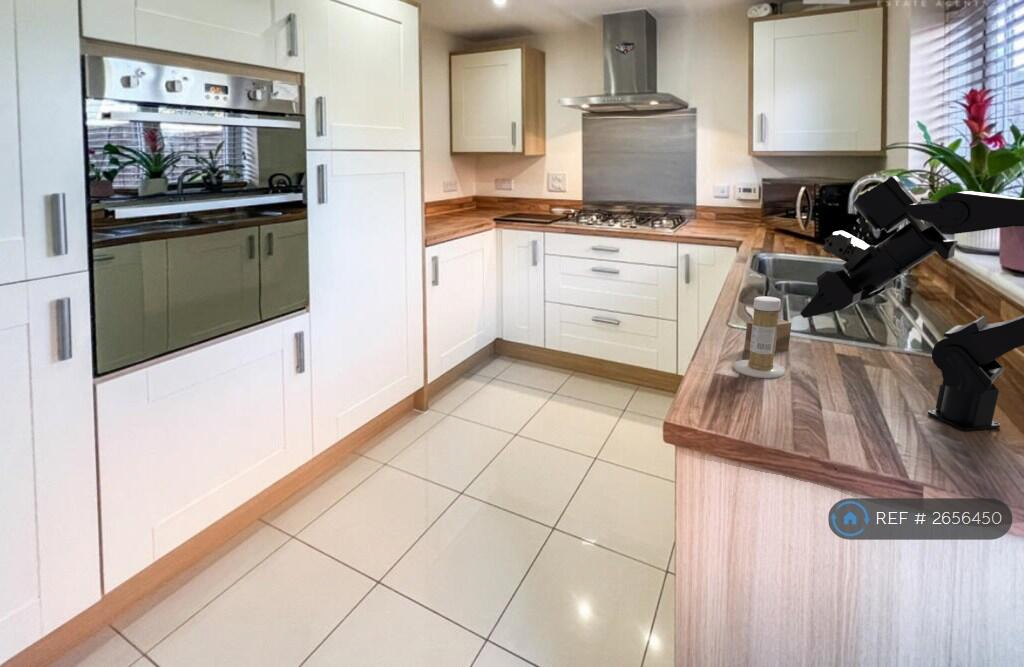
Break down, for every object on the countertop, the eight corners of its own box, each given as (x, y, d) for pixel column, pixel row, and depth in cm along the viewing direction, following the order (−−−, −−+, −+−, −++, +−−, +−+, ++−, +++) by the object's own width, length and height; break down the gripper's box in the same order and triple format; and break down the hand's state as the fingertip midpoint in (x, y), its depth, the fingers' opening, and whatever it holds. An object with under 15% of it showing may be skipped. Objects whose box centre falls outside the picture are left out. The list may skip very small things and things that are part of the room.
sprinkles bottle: (775, 366, 112) (783, 297, 108) (769, 372, 108) (778, 302, 104) (750, 362, 114) (757, 294, 111) (744, 368, 111) (751, 299, 107)
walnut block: (788, 350, 123) (791, 322, 122) (758, 354, 120) (761, 326, 119) (773, 345, 127) (776, 318, 125) (744, 349, 124) (747, 322, 122)
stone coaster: (794, 376, 108) (795, 373, 108) (749, 379, 107) (750, 376, 106) (767, 361, 116) (767, 358, 116) (724, 364, 115) (725, 361, 115)
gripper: (882, 211, 99) (807, 268, 110) (839, 219, 87) (759, 281, 98) (928, 263, 96) (845, 316, 107) (889, 278, 84) (801, 335, 95)
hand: (813, 311), depth 102 cm, fingers open, 9 cm apart
